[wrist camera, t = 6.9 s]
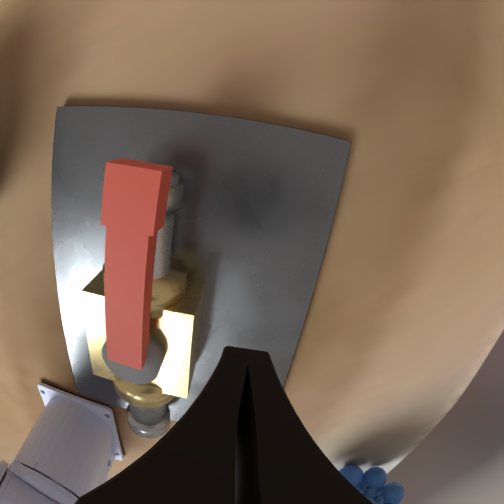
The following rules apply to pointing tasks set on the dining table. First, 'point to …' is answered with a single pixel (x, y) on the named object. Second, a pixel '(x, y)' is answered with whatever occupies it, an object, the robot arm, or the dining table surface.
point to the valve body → (193, 244)
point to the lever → (132, 264)
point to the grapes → (373, 484)
